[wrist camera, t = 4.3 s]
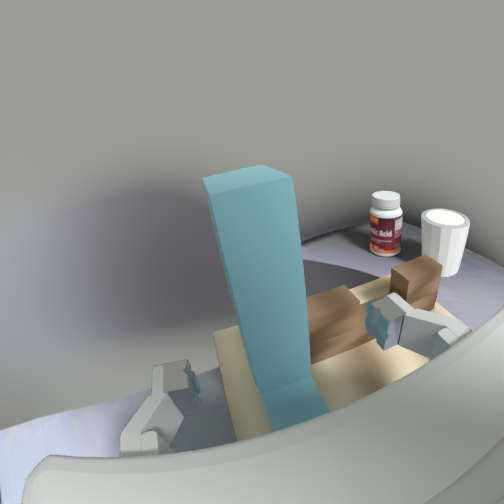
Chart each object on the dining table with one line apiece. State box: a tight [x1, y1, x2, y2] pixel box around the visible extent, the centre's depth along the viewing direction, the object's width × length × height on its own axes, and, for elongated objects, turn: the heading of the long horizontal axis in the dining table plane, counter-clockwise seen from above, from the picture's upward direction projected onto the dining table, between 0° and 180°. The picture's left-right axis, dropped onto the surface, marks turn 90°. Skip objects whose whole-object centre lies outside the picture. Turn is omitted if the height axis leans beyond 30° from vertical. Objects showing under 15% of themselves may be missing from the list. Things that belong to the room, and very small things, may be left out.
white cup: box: [421, 209, 470, 277], centre depth 30 cm, size 7×7×7 cm
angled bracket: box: [202, 165, 330, 432], centre depth 15 cm, size 3×10×16 cm, turn 13°
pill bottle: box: [370, 191, 403, 257], centre depth 36 cm, size 5×5×8 cm
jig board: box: [213, 254, 455, 441], centre depth 20 cm, size 22×17×6 cm
